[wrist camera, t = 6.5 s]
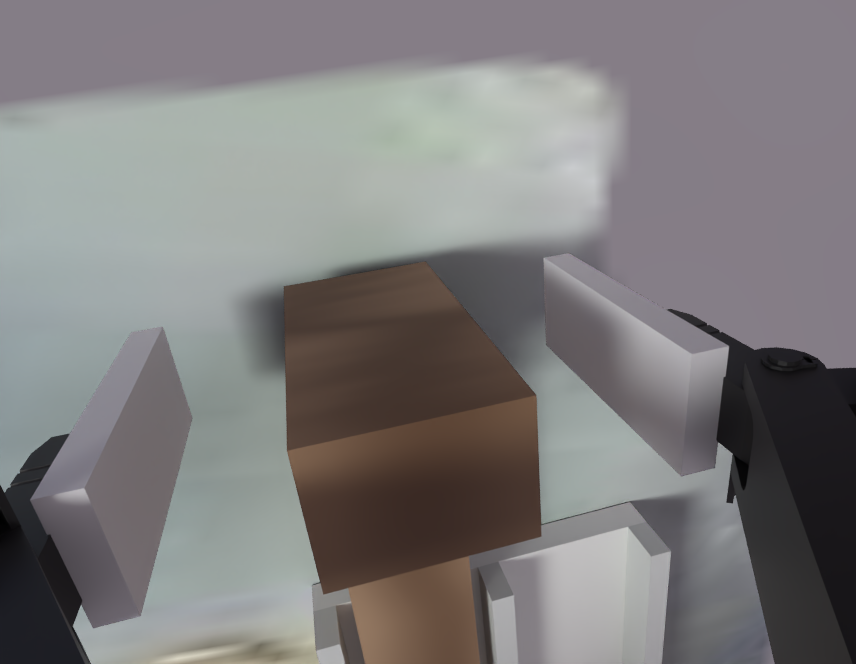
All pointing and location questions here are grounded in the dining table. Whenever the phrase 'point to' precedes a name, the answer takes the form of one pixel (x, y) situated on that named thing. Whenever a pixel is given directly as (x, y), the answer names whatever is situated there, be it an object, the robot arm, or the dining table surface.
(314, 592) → the lane board
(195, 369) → the dining table surface
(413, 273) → the strip
